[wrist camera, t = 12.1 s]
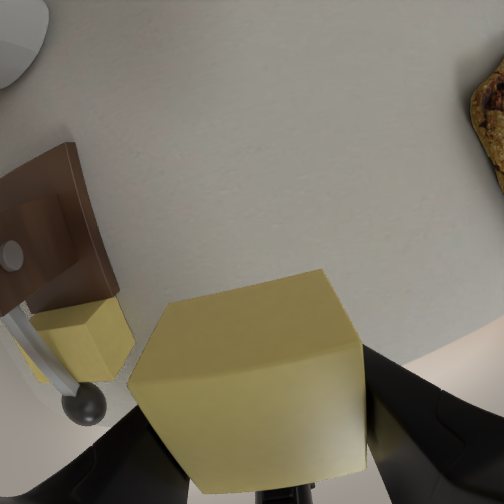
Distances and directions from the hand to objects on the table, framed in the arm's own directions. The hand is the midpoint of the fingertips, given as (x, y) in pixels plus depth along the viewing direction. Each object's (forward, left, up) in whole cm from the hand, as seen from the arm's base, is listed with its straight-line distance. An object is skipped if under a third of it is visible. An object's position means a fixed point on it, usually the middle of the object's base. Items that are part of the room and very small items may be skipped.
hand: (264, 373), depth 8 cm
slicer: (+5, +13, -11) cm, 18 cm away
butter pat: (0, 0, -1) cm, 1 cm away
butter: (-2, +13, -11) cm, 17 cm away
